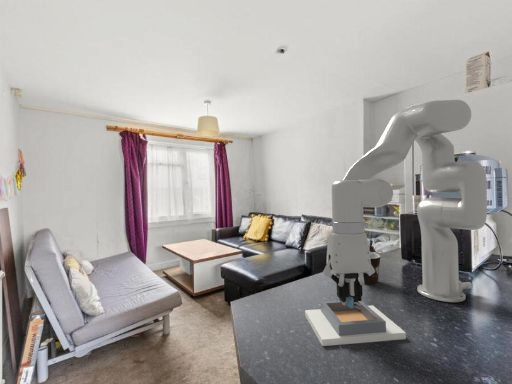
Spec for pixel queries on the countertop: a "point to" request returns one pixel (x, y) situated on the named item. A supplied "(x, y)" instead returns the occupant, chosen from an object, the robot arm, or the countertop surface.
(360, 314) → the dock board
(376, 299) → the countertop surface
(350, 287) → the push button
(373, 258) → the coffee mug
